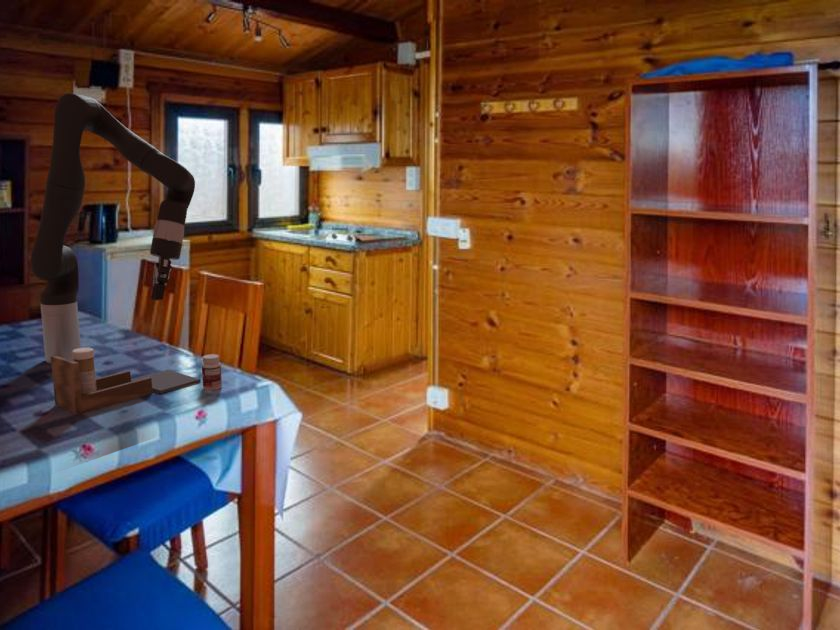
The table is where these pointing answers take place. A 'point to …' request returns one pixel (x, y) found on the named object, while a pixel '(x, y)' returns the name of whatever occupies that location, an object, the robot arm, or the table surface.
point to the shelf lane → (107, 387)
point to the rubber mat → (169, 381)
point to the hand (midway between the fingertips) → (156, 299)
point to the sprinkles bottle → (85, 369)
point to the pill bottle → (211, 372)
